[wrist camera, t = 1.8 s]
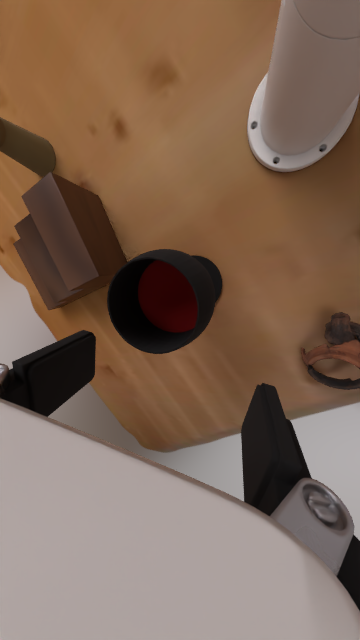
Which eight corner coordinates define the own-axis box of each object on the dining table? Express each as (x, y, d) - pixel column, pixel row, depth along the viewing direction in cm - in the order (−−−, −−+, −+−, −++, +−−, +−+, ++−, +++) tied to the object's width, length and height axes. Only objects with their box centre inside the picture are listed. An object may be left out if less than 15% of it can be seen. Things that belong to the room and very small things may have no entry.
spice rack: (59, 307, 45) (14, 318, 36) (27, 244, 42) (-31, 239, 33) (131, 273, 38) (99, 276, 28) (98, 195, 35) (50, 171, 26)
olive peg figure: (61, 161, 35) (-9, 120, 25) (42, 183, 37) (-29, 154, 27) (42, 129, 35) (-38, 73, 24) (24, 153, 37) (-57, 111, 27)
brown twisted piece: (378, 357, 31) (384, 400, 26) (309, 353, 38) (303, 387, 33) (374, 294, 27) (380, 332, 22) (296, 303, 33) (287, 333, 28)
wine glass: (216, 316, 36) (199, 374, 17) (164, 307, 38) (99, 349, 19) (227, 258, 33) (220, 253, 14) (169, 252, 35) (97, 239, 16)
